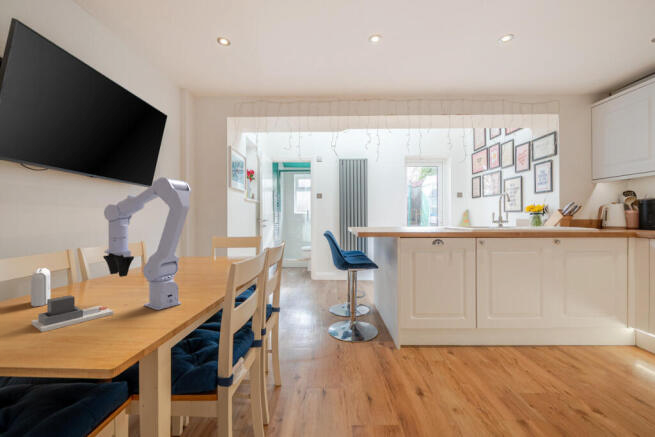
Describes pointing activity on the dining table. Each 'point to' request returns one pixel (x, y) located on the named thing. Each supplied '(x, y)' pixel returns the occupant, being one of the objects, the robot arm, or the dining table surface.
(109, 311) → the white flat rectangular base
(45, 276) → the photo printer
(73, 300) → the gray block
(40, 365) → the dining table surface
